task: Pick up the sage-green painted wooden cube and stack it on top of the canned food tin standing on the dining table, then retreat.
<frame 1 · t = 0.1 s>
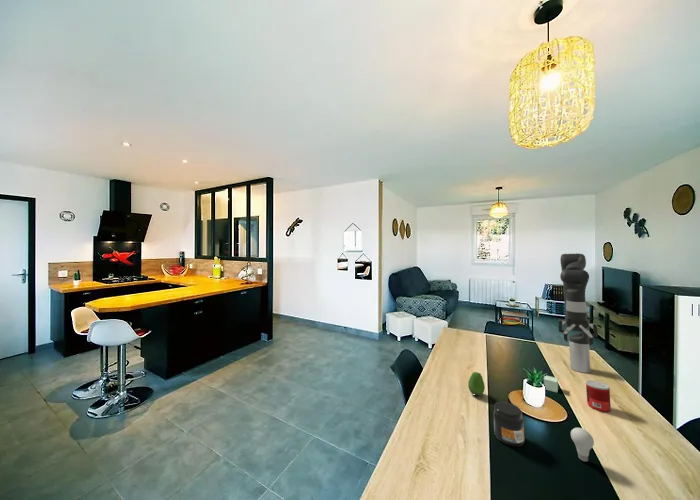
hand: (578, 343, 123), 29 cm above the table, fingers open, 8 cm apart
avocado: (476, 395, 132), on the table
lightbulb: (583, 461, 89), on the table
supplement container: (509, 438, 100), on the table
sage block: (551, 388, 135), on the table
canned food: (598, 408, 118), on the table
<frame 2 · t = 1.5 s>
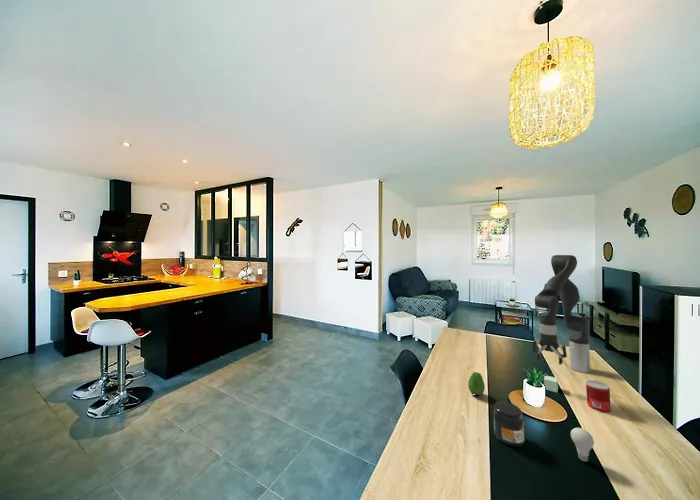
hand: (549, 362, 135), 14 cm above the table, fingers open, 8 cm apart
nothing on the table moved.
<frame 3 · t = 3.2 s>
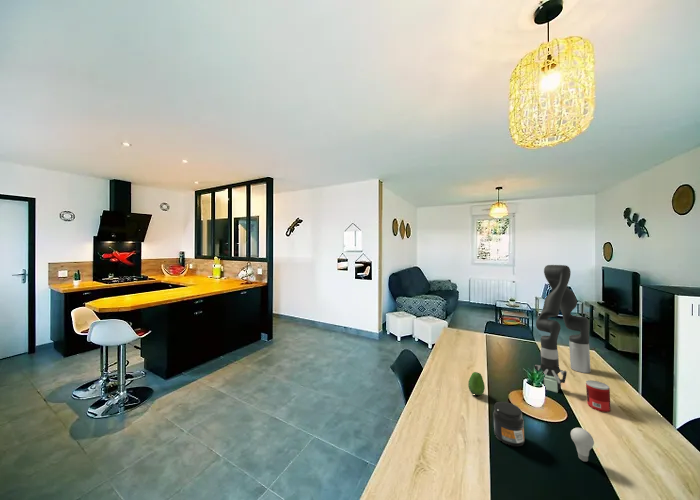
hand: (551, 387, 135), 1 cm above the table, fingers closed on sage block, 5 cm apart
sage block: (551, 388, 135), on the table, touching gripper
everything else where it was.
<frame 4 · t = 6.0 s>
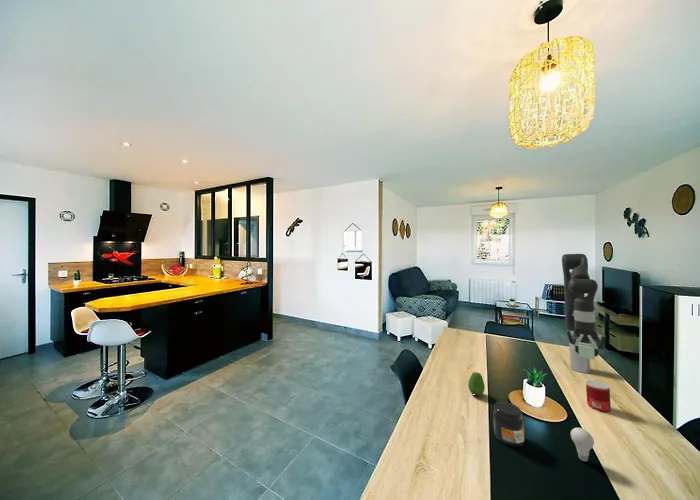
hand: (586, 354, 121), 24 cm above the table, fingers closed on sage block, 5 cm apart
sage block: (586, 356, 121), point 23 cm above the table, touching gripper
everything else where it was.
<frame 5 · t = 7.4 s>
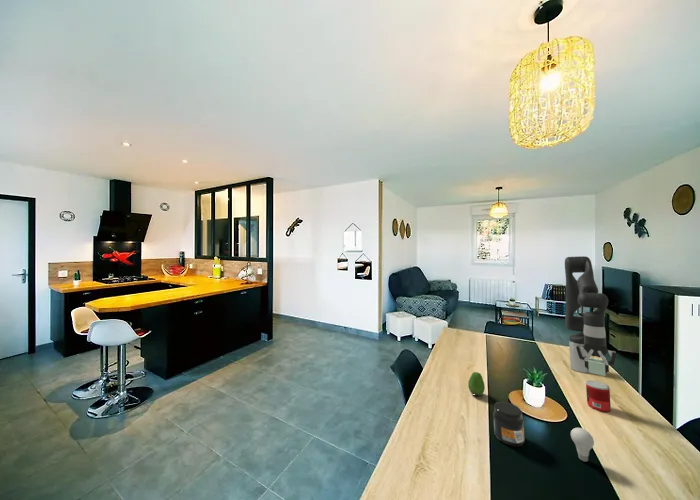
hand: (596, 370, 118), 17 cm above the table, fingers closed on sage block, 5 cm apart
sage block: (596, 372, 118), point 17 cm above the table, touching gripper
everything else where it was.
when the fingers open (13 cm above the table, at t = 8.7 s): sage block drops 1 cm, resting on canned food.
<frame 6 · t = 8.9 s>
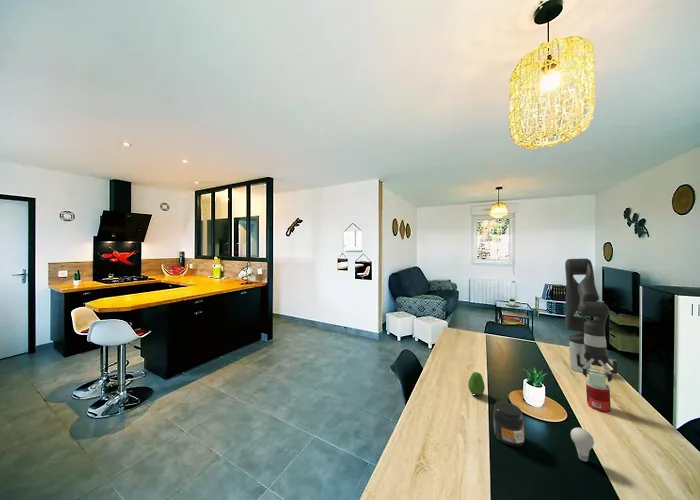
hand: (597, 378, 118), 14 cm above the table, fingers open, 7 cm apart
sage block: (597, 384, 118), point 11 cm above the table, touching canned food
canned food: (598, 408, 118), on the table, touching sage block
everything else where it was.
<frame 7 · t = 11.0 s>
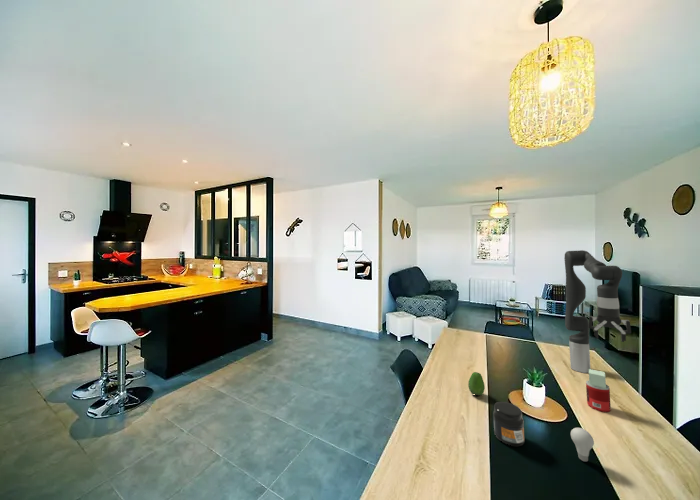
hand: (609, 339, 121), 31 cm above the table, fingers open, 8 cm apart
nothing on the table moved.
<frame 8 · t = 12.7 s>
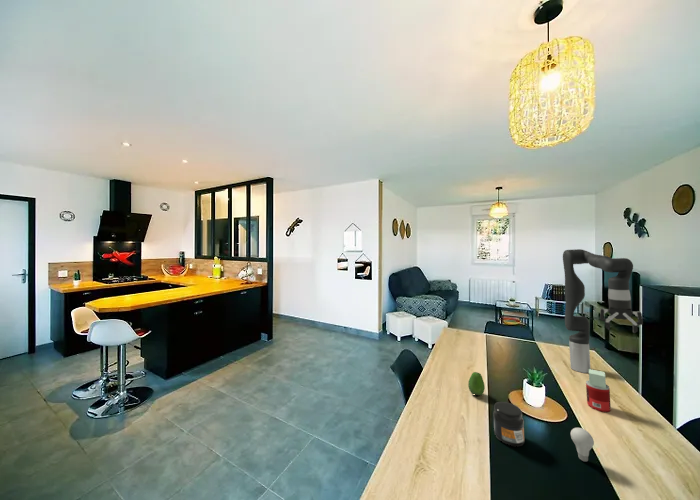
hand: (621, 331, 123), 34 cm above the table, fingers open, 8 cm apart
nothing on the table moved.
at the end: sage block inside the target area on the canned food (0.0 cm from its centre), point 11.2 cm above the canned food's base; sage block tilted 0°; the gripper is holding nothing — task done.
